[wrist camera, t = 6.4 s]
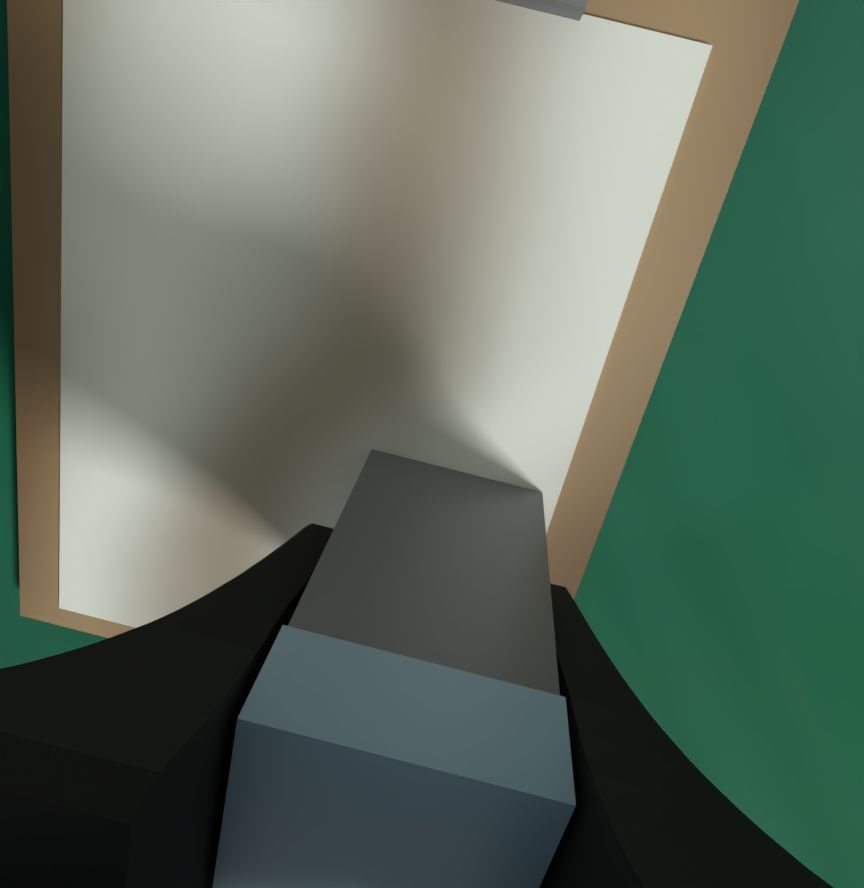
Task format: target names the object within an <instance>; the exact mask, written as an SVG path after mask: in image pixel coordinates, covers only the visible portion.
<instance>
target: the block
mask: <svg viewBox="0 0 864 888" xmlns="http://www.w3.org/2000/svg"><path fill="white" fill-rule="evenodd" d="M575 807H576V800H575V790H574V779H573V769H572V759H571V748H570V738H569V727H568V717H567V707H566V697H563V696H560V690H559V679H558V667H557V656H556V644H555V632H554V621H553V609H552V598H551V586H550V575H549V563H548V552H547V540H546V528H545V517H544V505H543V494H542V492H539V491H535V490H531V489H527V488H523V487H519V486H515V485H511V484H507V483H503V482H499V481H495V480H491V479H487V478H483V477H479V476H475V475H472V474H468V473H464V472H460V471H456V470H452V469H448V468H444V467H440V466H436V465H432V464H428V463H424V462H420V461H416V460H412V459H408V458H404V457H400V456H396V455H392V454H389V453H385V452H381V451H377V450H373V449H371V452H370V454H369V456H368V458H367V460H366V462H365V464H364V466H363V468H362V471H361V473H360V475H359V477H358V479H357V481H356V483H355V485H354V487H353V490H352V492H351V494H350V496H349V498H348V500H347V502H346V504H345V506H344V508H343V511H342V513H341V515H340V517H339V519H338V521H337V523H336V525H335V527H334V530H333V532H332V534H331V536H330V538H329V540H328V542H327V544H326V546H325V549H324V551H323V553H322V555H321V557H320V559H319V561H318V563H317V565H316V567H315V570H314V572H313V574H312V576H311V578H310V580H309V582H308V584H307V586H306V589H305V591H304V593H303V595H302V597H301V599H300V601H299V603H298V605H297V608H296V610H295V612H294V614H293V616H292V618H291V620H290V622H289V624H288V626H286V625H282V627H281V630H280V632H279V634H278V636H277V638H276V640H275V642H274V644H273V646H272V648H271V650H270V652H269V654H268V656H267V658H266V660H265V662H264V665H263V667H262V669H261V671H260V673H259V675H258V677H257V679H256V681H255V683H254V685H253V687H252V689H251V691H250V693H249V695H248V697H247V699H246V702H245V704H244V706H243V708H242V710H241V712H240V714H239V716H238V718H237V724H236V731H235V738H234V744H233V751H232V758H231V765H230V771H229V778H228V785H227V792H226V799H225V805H224V812H223V819H222V826H221V833H220V839H219V846H218V853H217V860H216V866H215V873H214V880H213V887H212V888H539V887H540V885H541V883H542V880H543V878H544V876H545V874H546V871H547V869H548V867H549V865H550V863H551V860H552V858H553V856H554V854H555V851H556V849H557V847H558V845H559V842H560V840H561V838H562V836H563V834H564V831H565V829H566V827H567V825H568V822H569V820H570V818H571V816H572V813H573V811H574V809H575Z"/></svg>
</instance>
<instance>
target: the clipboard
mask: <svg viewBox="0 0 864 888" xmlns="http://www.w3.org/2000/svg"><path fill="white" fill-rule="evenodd" d="M798 2H799V0H7V27H8V72H9V118H10V164H11V210H12V256H13V302H14V348H15V393H16V439H17V485H18V531H19V577H20V615H21V616H24V617H28V618H32V619H36V620H40V621H44V622H48V623H52V624H56V625H59V626H63V627H67V628H71V629H75V630H79V631H83V632H87V633H91V634H94V635H98V636H102V637H106V638H111V637H113V636H116V635H118V634H121V633H124V632H126V631H129V630H132V629H134V628H137V627H140V626H142V625H145V624H148V623H150V622H152V621H155V620H157V619H159V618H161V617H164V616H166V615H168V614H170V613H172V612H174V611H176V610H178V609H180V608H182V607H184V606H186V605H188V604H190V603H192V602H194V601H196V600H197V599H199V598H201V597H203V596H205V595H206V594H208V593H210V592H211V591H213V590H215V589H216V588H218V587H220V586H221V585H223V584H225V583H226V582H228V581H230V580H231V579H233V578H235V577H236V576H238V575H239V574H241V573H243V572H244V571H245V570H247V569H248V568H250V567H251V566H253V565H254V564H256V563H257V562H259V561H260V560H262V559H263V558H264V557H266V556H267V555H269V554H270V553H271V552H273V551H274V550H276V549H277V548H278V547H280V546H281V545H282V544H284V543H285V542H286V541H288V540H289V539H290V538H291V537H293V536H294V535H295V534H297V533H298V532H299V531H300V530H302V529H303V528H304V527H306V526H308V525H309V524H311V523H313V524H317V525H321V526H325V527H329V528H333V529H334V527H335V525H336V523H337V521H338V519H339V517H340V515H341V513H342V511H343V508H344V506H345V504H346V502H347V500H348V498H349V496H350V494H351V492H352V490H353V487H354V485H355V483H356V481H357V479H358V477H359V475H360V473H361V471H362V468H363V466H364V464H365V462H366V460H367V458H368V456H369V454H370V452H371V449H373V450H377V451H381V452H385V453H389V454H392V455H396V456H400V457H404V458H408V459H412V460H416V461H420V462H424V463H428V464H432V465H436V466H440V467H444V468H448V469H452V470H456V471H460V472H464V473H468V474H472V475H475V476H479V477H483V478H487V479H491V480H495V481H499V482H503V483H507V484H511V485H515V486H519V487H523V488H527V489H531V490H535V491H539V492H542V494H543V505H544V517H545V528H546V540H547V552H548V563H549V575H550V583H551V584H555V585H559V586H563V587H566V588H567V590H568V591H569V593H570V595H571V596H572V598H573V600H574V598H575V595H576V592H577V590H578V587H579V584H580V582H581V579H582V576H583V574H584V571H585V569H586V566H587V563H588V561H589V558H590V555H591V553H592V550H593V547H594V545H595V542H596V539H597V537H598V534H599V531H600V529H601V526H602V523H603V521H604V518H605V515H606V513H607V510H608V507H609V505H610V502H611V499H612V497H613V494H614V491H615V489H616V486H617V483H618V481H619V478H620V475H621V473H622V470H623V467H624V465H625V462H626V460H627V457H628V454H629V452H630V449H631V446H632V444H633V441H634V438H635V436H636V433H637V430H638V428H639V425H640V422H641V420H642V417H643V414H644V412H645V409H646V406H647V404H648V401H649V398H650V396H651V393H652V390H653V388H654V385H655V382H656V380H657V377H658V374H659V372H660V369H661V366H662V364H663V361H664V359H665V356H666V353H667V351H668V348H669V345H670V343H671V340H672V337H673V335H674V332H675V329H676V327H677V324H678V321H679V319H680V316H681V313H682V311H683V308H684V305H685V303H686V300H687V297H688V295H689V292H690V289H691V287H692V284H693V281H694V279H695V276H696V273H697V271H698V268H699V265H700V263H701V260H702V257H703V255H704V252H705V250H706V247H707V244H708V242H709V239H710V236H711V234H712V231H713V228H714V226H715V223H716V220H717V218H718V215H719V212H720V210H721V207H722V204H723V202H724V199H725V196H726V194H727V191H728V188H729V186H730V183H731V180H732V178H733V175H734V172H735V170H736V167H737V164H738V162H739V159H740V156H741V154H742V151H743V149H744V146H745V143H746V141H747V138H748V135H749V133H750V130H751V127H752V125H753V122H754V119H755V117H756V114H757V111H758V109H759V106H760V103H761V101H762V98H763V95H764V93H765V90H766V87H767V85H768V82H769V79H770V77H771V74H772V71H773V69H774V66H775V63H776V61H777V58H778V55H779V53H780V50H781V47H782V45H783V42H784V40H785V37H786V34H787V32H788V29H789V26H790V24H791V21H792V18H793V16H794V13H795V10H796V8H797V5H798Z"/></svg>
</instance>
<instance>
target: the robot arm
mask: <svg viewBox="0 0 864 888" xmlns="http://www.w3.org/2000/svg"><path fill="white" fill-rule="evenodd" d="M333 530H334V529H333V528H329V527H325V526H321V525H317V524H313V523H311V524H309V525H308V526H306V527H304V528H303V529H302V530H300V531H299V532H298V533H297V534H295V535H294V536H293V537H291V538H290V539H289V540H288V541H286V542H285V543H284V544H282V545H281V546H280V547H278V548H277V549H276V550H274V551H273V552H271V553H270V554H269V555H267V556H266V557H264V558H263V559H262V560H260V561H259V562H257V563H256V564H254V565H253V566H251V567H250V568H248V569H247V570H245V571H244V572H243V573H241V574H239V575H238V576H236V577H235V578H233V579H231V580H230V581H228V582H226V583H225V584H223V585H221V586H220V587H218V588H216V589H215V590H213V591H211V592H210V593H208V594H206V595H205V596H203V597H201V598H199V599H197V600H196V601H194V602H192V603H190V604H188V605H186V606H184V607H182V608H180V609H178V610H176V611H174V612H172V613H170V614H168V615H166V616H164V617H161V618H159V619H157V620H155V621H152V622H150V623H148V624H145V625H142V626H140V627H137V628H134V629H132V630H129V631H126V632H124V633H121V634H118V635H116V636H113V637H111V638H108V639H105V640H103V641H100V642H97V643H94V644H91V645H88V646H85V647H82V648H78V649H75V650H72V651H69V652H65V653H62V654H58V655H55V656H51V657H47V658H44V659H40V660H36V661H33V662H29V663H25V664H21V665H17V666H12V667H8V668H3V669H0V888H212V887H213V880H214V873H215V866H216V860H217V853H218V846H219V839H220V833H221V826H222V819H223V812H224V805H225V799H226V792H227V785H228V778H229V771H230V765H231V758H232V751H233V744H234V738H235V731H236V724H237V718H238V716H239V714H240V712H241V710H242V708H243V706H244V704H245V702H246V699H247V697H248V695H249V693H250V691H251V689H252V687H253V685H254V683H255V681H256V679H257V677H258V675H259V673H260V671H261V669H262V667H263V665H264V662H265V660H266V658H267V656H268V654H269V652H270V650H271V648H272V646H273V644H274V642H275V640H276V638H277V636H278V634H279V632H280V630H281V627H282V625H286V626H288V624H289V622H290V620H291V618H292V616H293V614H294V612H295V610H296V608H297V605H298V603H299V601H300V599H301V597H302V595H303V593H304V591H305V589H306V586H307V584H308V582H309V580H310V578H311V576H312V574H313V572H314V570H315V567H316V565H317V563H318V561H319V559H320V557H321V555H322V553H323V551H324V549H325V546H326V544H327V542H328V540H329V538H330V536H331V534H332V532H333ZM550 586H551V598H552V609H553V621H554V632H555V644H556V656H557V667H558V679H559V690H560V696H563V697H566V707H567V717H568V727H569V738H570V748H571V759H572V769H573V779H574V790H575V800H576V807H575V809H574V811H573V813H572V816H571V818H570V820H569V822H568V825H567V827H566V829H565V831H564V834H563V836H562V838H561V840H560V842H559V845H558V847H557V849H556V851H555V854H554V856H553V858H552V860H551V863H550V865H549V867H548V869H547V871H546V874H545V876H544V878H543V880H542V883H541V885H540V887H539V888H833V887H832V886H830V885H829V884H828V883H826V882H825V881H824V880H822V879H821V878H820V877H818V876H817V875H816V874H814V873H813V872H812V871H810V870H809V869H808V868H807V867H805V866H804V865H803V864H802V863H800V862H799V861H798V860H797V859H796V858H794V857H793V856H792V855H791V854H790V853H788V852H787V851H786V850H785V849H784V848H782V847H781V846H780V845H779V844H778V843H776V842H775V841H774V840H773V839H772V838H771V837H769V836H768V835H767V834H766V833H765V832H763V831H762V830H761V829H760V828H759V827H758V826H757V825H756V824H754V823H753V822H752V821H751V820H750V819H749V818H748V817H747V816H746V815H744V814H743V813H742V812H741V811H740V810H739V809H738V808H737V807H736V806H735V805H734V804H733V803H732V802H731V801H730V800H729V799H728V798H727V797H726V796H724V795H723V794H722V793H721V792H720V791H719V790H718V789H717V788H716V787H715V786H714V785H713V784H712V783H711V782H710V781H709V780H708V779H707V778H706V777H705V776H704V775H703V774H702V773H701V772H700V771H699V770H698V769H697V768H696V767H695V766H694V764H693V763H692V762H691V761H690V760H689V759H688V758H687V757H686V756H685V755H684V754H683V752H682V751H681V750H680V749H679V748H678V747H677V746H676V744H675V743H674V742H673V741H672V740H671V739H670V738H669V736H668V735H667V734H666V733H665V732H664V731H663V730H662V729H661V727H660V726H659V725H658V724H657V722H656V721H655V720H654V719H653V718H652V716H651V715H650V714H649V713H648V711H647V710H646V709H645V707H644V706H643V705H642V703H641V702H640V701H639V699H638V698H637V697H636V695H635V694H634V693H633V691H632V690H631V689H630V687H629V686H628V685H627V683H626V682H625V680H624V679H623V677H622V676H621V675H620V673H619V672H618V670H617V669H616V667H615V666H614V664H613V663H612V661H611V660H610V658H609V657H608V655H607V654H606V652H605V651H604V649H603V648H602V646H601V644H600V643H599V641H598V640H597V638H596V636H595V635H594V633H593V632H592V630H591V628H590V627H589V625H588V623H587V622H586V620H585V618H584V617H583V615H582V613H581V612H580V610H579V608H578V607H577V605H576V603H575V601H574V600H573V598H572V596H571V595H570V593H569V591H568V590H567V588H566V587H563V586H559V585H555V584H551V583H550Z"/></svg>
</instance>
